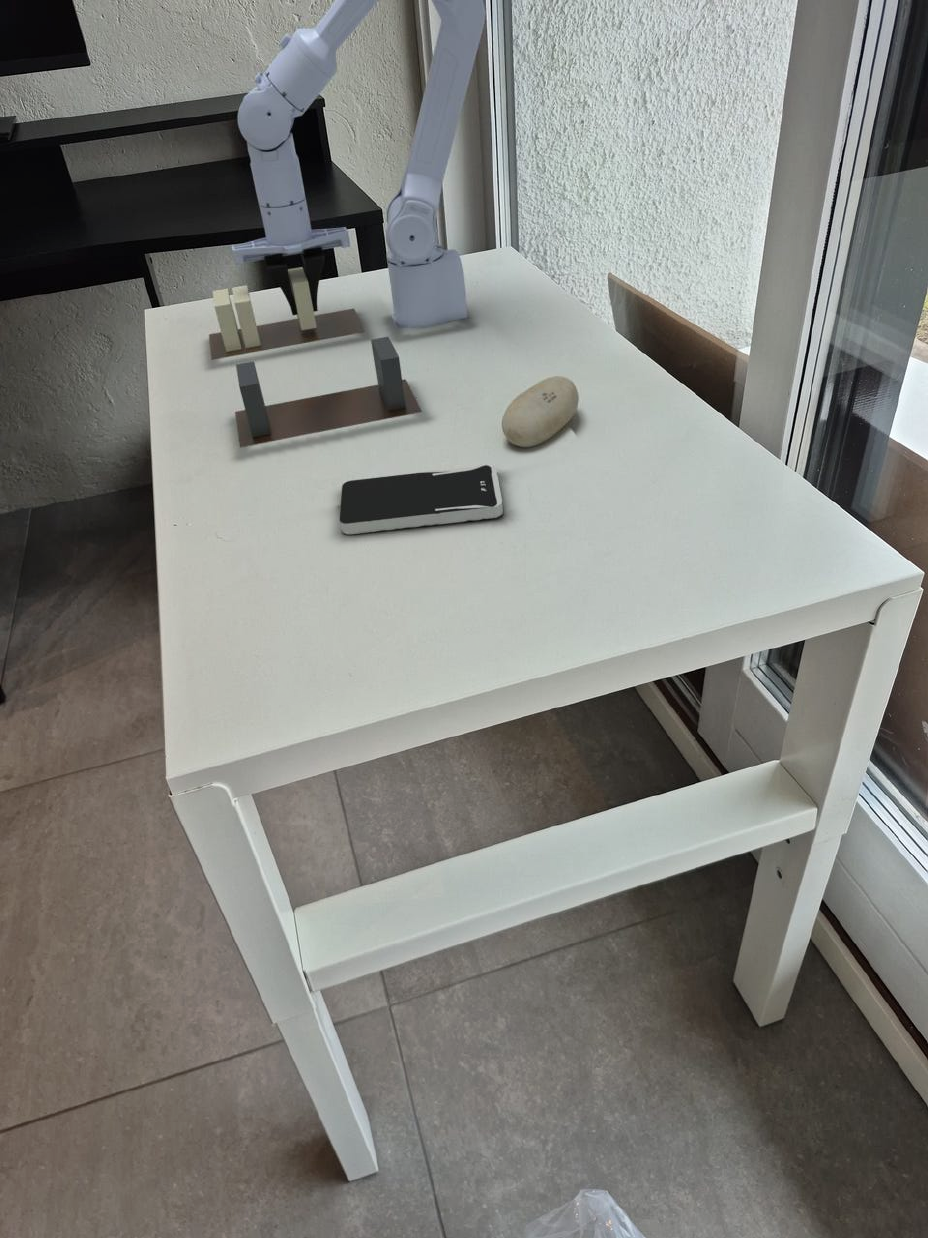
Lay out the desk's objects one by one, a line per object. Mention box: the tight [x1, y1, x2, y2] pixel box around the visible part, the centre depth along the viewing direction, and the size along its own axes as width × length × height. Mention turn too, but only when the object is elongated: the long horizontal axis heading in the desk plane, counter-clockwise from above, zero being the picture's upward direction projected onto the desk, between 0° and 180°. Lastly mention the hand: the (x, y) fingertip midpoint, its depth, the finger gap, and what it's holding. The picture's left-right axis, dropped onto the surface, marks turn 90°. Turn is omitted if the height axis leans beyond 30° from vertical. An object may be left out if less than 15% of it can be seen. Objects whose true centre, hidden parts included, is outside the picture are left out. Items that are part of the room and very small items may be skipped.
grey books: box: [235, 336, 406, 438], centre depth 99 cm, size 17×6×6 cm, turn 105°
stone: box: [501, 375, 580, 449], centre depth 93 cm, size 6×6×12 cm
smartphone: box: [339, 464, 504, 536], centre depth 85 cm, size 8×1×15 cm
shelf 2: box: [234, 378, 423, 449], centre depth 101 cm, size 20×9×1 cm, turn 105°
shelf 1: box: [208, 308, 366, 361], centre depth 120 cm, size 20×9×1 cm, turn 105°
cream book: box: [288, 266, 317, 330], centre depth 118 cm, size 2×6×6 cm, turn 15°
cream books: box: [212, 284, 261, 352], centre depth 117 cm, size 4×6×6 cm
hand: (304, 310), depth 119 cm, fingers closed on cream book, 2 cm apart
